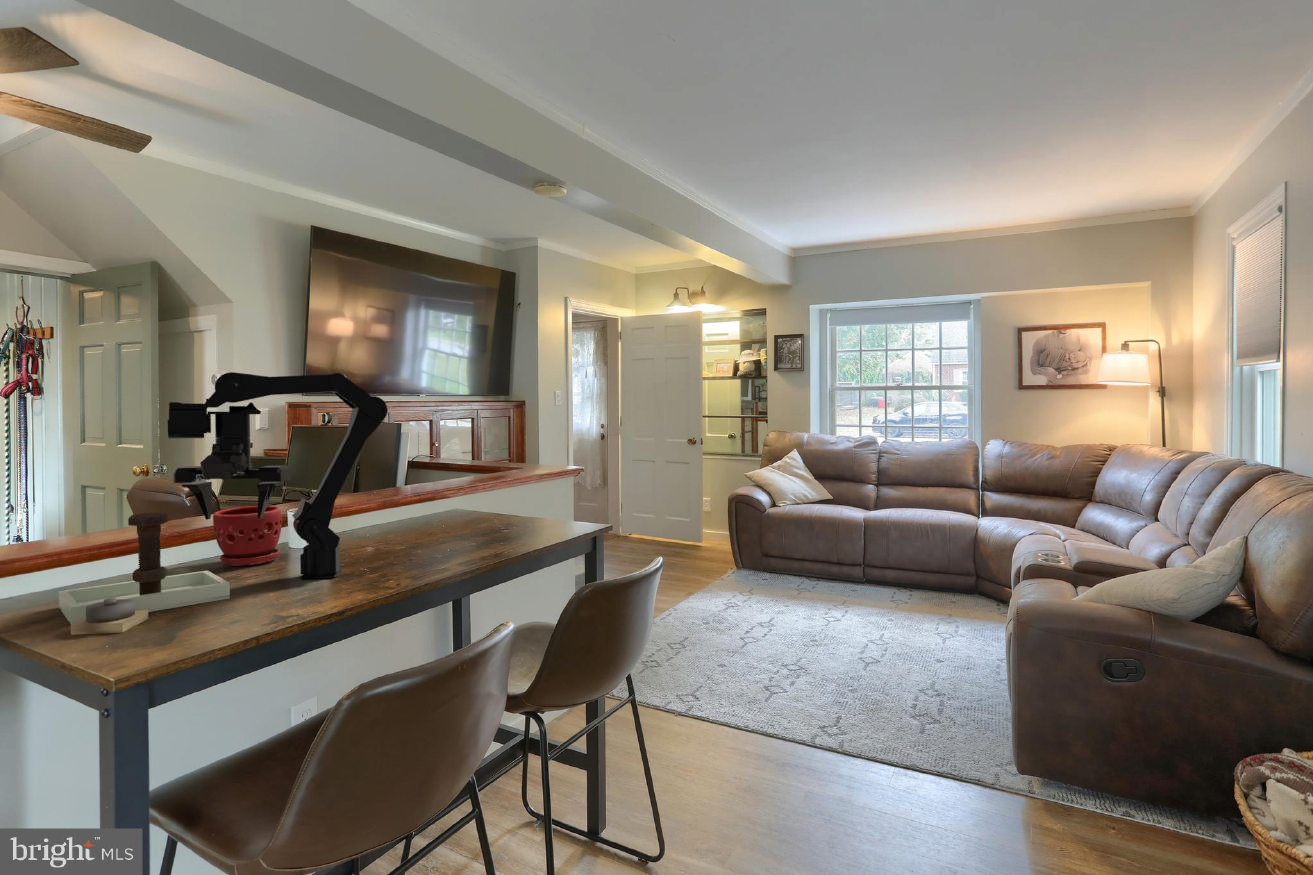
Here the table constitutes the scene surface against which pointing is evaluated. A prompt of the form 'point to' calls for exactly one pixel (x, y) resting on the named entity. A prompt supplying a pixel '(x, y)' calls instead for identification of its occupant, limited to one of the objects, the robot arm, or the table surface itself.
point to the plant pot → (247, 535)
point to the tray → (173, 594)
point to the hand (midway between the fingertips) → (234, 518)
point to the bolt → (149, 551)
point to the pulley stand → (109, 617)
